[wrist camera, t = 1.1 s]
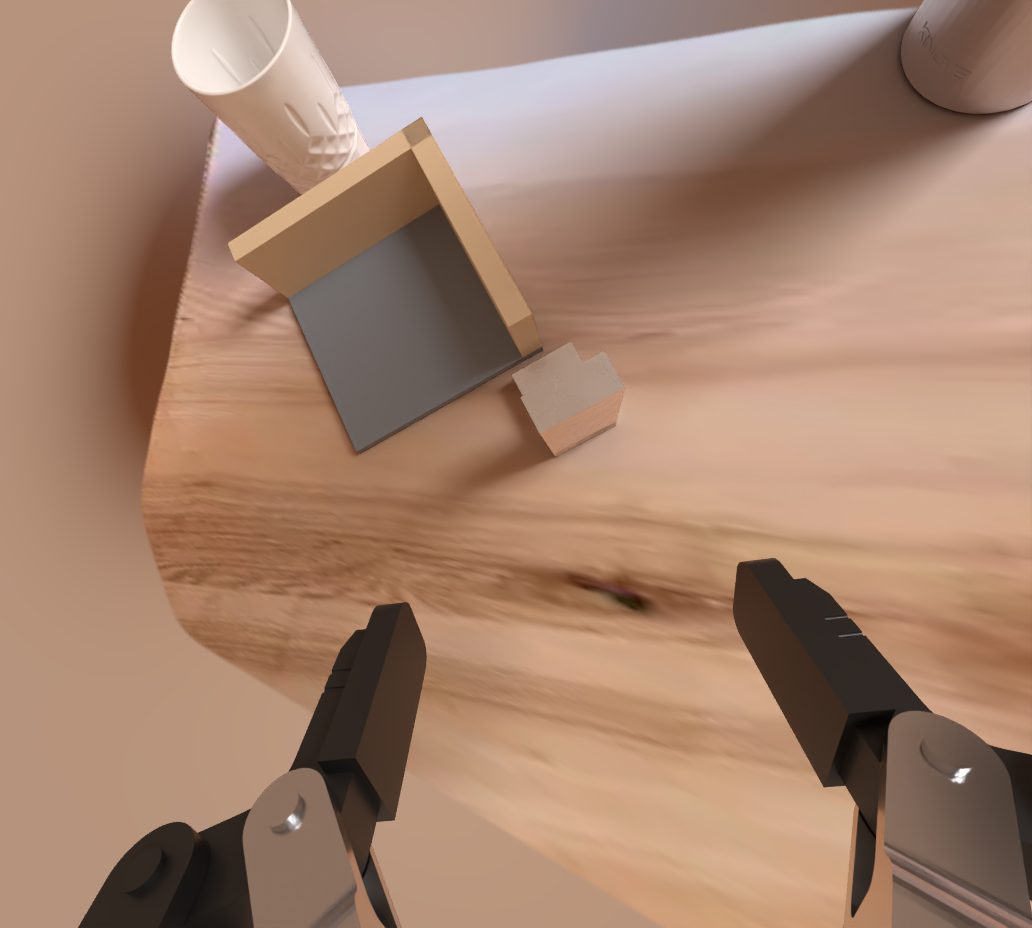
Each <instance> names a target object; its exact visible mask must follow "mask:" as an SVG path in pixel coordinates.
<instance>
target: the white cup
mask: <svg viewBox="0 0 1032 928" xmlns="http://www.w3.org/2000/svg"><path fill="white" fill-rule="evenodd" d="M171 57H172V63H173V67H174V69H175V72H176V74H177V76H178V77H179V79H180V80H181V82H182V83H183V84H184V85H185V86H186V87H187V88H188V89H189V90H190V91H191V92H193V94H195V95H196V96H197V97H198V98H199V99H200V100H201V101H202V102H203V103H204V104H205V105H206V106H207V107H208V108H209V109H210V110H211V111H212V112H213V113H214V114H215V115H216V116H217V117H218V118H219V119H220V120H221V121H222V122H223V123H224V124H225V125H226V126H227V127H228V128H229V129H230V130H231V131H232V132H233V133H234V134H235V135H237V136H238V137H239V138H240V139H241V140H242V141H243V142H244V143H245V144H246V145H247V146H248V147H249V148H250V149H251V150H252V151H253V152H254V153H255V154H256V155H257V156H258V157H259V158H260V159H261V160H262V161H263V162H265V163H266V164H267V165H268V166H269V167H270V168H271V169H272V170H273V171H274V172H275V173H276V174H278V175H279V176H280V177H282V178H284V179H285V180H286V181H287V182H288V183H289V184H290V185H291V186H292V187H293V188H294V189H295V190H296V191H297V192H298V193H299V194H300V195H303V194H304V193H306V192H307V191H309V190H310V189H312V188H313V187H315V186H316V185H318V184H319V183H321V182H322V181H324V180H326V179H327V178H329V177H330V176H332V175H333V174H335V173H336V172H338V171H339V170H341V169H342V168H344V167H345V166H347V165H349V164H350V163H352V162H353V161H355V160H356V159H358V158H359V157H361V156H362V155H364V154H365V153H367V152H368V151H370V150H369V148H368V145H367V143H366V141H365V138H364V136H363V134H362V133H361V131H360V129H359V127H358V126H357V124H356V122H355V120H354V118H353V116H352V112H351V110H350V108H349V106H348V104H347V102H346V101H345V99H344V97H343V95H342V92H341V90H340V89H339V87H338V85H337V83H336V81H335V80H334V77H333V76H332V74H331V72H330V70H329V68H328V67H327V65H326V63H325V61H324V59H323V58H322V56H321V54H320V52H319V51H318V48H317V47H316V45H315V43H314V41H313V39H312V37H311V36H310V34H309V32H308V30H307V28H306V27H305V25H304V23H303V21H302V19H301V17H300V16H299V14H298V12H297V10H296V8H295V6H294V4H293V3H292V1H291V0H191V1H190V2H189V3H188V5H187V6H186V7H185V9H184V11H183V12H182V14H181V16H180V18H179V20H178V22H177V24H176V27H175V30H174V33H173V38H172V45H171Z"/></svg>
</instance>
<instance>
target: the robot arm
mask: <svg viewBox="0 0 1032 928" xmlns="http://www.w3.org/2000/svg"><path fill="white" fill-rule="evenodd" d="M901 63H902V66H903V69H904V72H905V75H906V77H907V78H908V80H909V81H910V83H911V84H912V86H913V87H914V88H915V89H916V90H917V91H918V92H919V93H920V94H921V95H922V96H923V97H924V98H926V99H928V100H930V101H931V102H933V103H935V104H936V105H938V106H941V107H944V108H947V109H950V110H953V111H958V112H964V113H971V114H981V113H995V112H1001V111H1006V110H1010V109H1013V108H1016V107H1019V106H1022V105H1024V104H1027V103H1029V102H1031V101H1032V0H924V1H923V3H922V4H921V6H920V7H919V9H918V10H917V12H916V13H915V15H914V16H913V18H912V20H911V21H910V23H909V25H908V27H907V29H906V31H905V33H904V36H903V41H902V45H901ZM733 614H734V619H735V623H736V626H737V629H738V632H739V634H740V636H741V638H742V640H743V641H744V643H745V645H746V647H747V649H748V650H749V652H750V654H751V656H752V658H753V659H754V661H755V663H756V665H757V667H758V669H759V670H760V672H761V674H762V676H763V678H764V679H765V681H766V683H767V685H768V687H769V689H770V690H771V692H772V694H773V696H774V698H775V699H776V701H777V703H778V705H779V707H780V709H781V710H782V712H783V714H784V716H785V718H786V719H787V721H788V723H789V725H790V727H791V729H792V730H793V732H794V734H795V736H796V738H797V739H798V741H799V743H800V745H801V747H802V749H803V750H804V752H805V754H806V756H807V758H808V759H809V761H810V763H811V765H812V767H813V768H814V770H815V772H816V774H817V776H818V778H819V779H820V781H821V783H822V785H823V787H834V786H846V787H847V789H848V791H849V793H850V794H851V796H852V798H853V799H854V801H855V803H856V805H855V808H854V815H853V827H852V838H851V849H850V861H849V872H848V883H847V895H846V906H845V916H844V924H843V928H1032V912H1031V906H1030V900H1031V901H1032V755H1031V754H1026V753H1021V752H1016V751H1011V750H1006V749H1002V748H998V747H994V746H991V745H988V744H986V743H985V742H984V741H983V740H982V739H981V738H980V737H978V736H977V735H976V734H974V733H973V732H971V731H970V730H968V729H967V728H965V727H964V726H962V725H960V724H958V723H956V722H955V721H952V720H950V719H948V718H946V717H943V716H940V715H937V714H934V713H933V712H932V711H930V710H929V709H928V708H927V706H926V705H925V704H924V703H923V702H922V701H921V700H920V699H919V698H918V696H917V695H916V694H915V693H914V692H913V691H912V689H911V688H910V687H909V686H908V685H907V684H906V682H905V681H904V680H903V679H902V678H901V677H900V675H899V674H898V673H897V672H896V671H895V670H894V668H893V667H892V666H891V665H890V664H889V663H888V661H887V660H886V659H885V658H884V657H883V656H882V654H881V653H880V652H879V651H878V650H877V649H876V647H875V646H874V645H873V644H872V643H871V642H870V640H869V639H868V638H867V637H866V636H863V635H862V631H861V630H860V629H859V628H858V626H857V625H856V624H855V623H854V622H853V621H852V619H851V618H850V619H849V618H848V617H847V614H846V612H845V611H844V610H843V609H842V608H841V607H840V605H839V604H838V603H837V602H836V601H835V600H834V598H833V597H832V596H831V595H830V594H829V593H827V592H826V591H824V590H823V589H821V588H820V587H818V586H817V585H815V584H814V583H812V582H811V581H809V580H808V579H806V578H802V579H793V578H792V576H791V575H790V574H789V573H788V571H787V570H786V569H785V568H784V566H783V565H782V564H781V563H780V562H779V561H778V560H777V559H775V558H769V559H761V560H753V561H745V562H740V563H739V564H738V566H737V574H736V583H735V593H734V603H733ZM425 669H426V647H425V642H424V640H423V637H422V634H421V632H420V629H419V627H418V624H417V622H416V619H415V617H414V614H413V612H412V609H411V607H410V605H409V604H408V603H407V602H403V603H395V604H387V605H379V606H376V607H375V608H374V610H373V612H372V615H371V617H370V620H369V623H368V625H367V628H366V629H363V630H356V631H355V632H354V634H353V635H352V636H351V637H350V638H349V640H348V641H347V642H346V643H345V645H344V646H343V647H342V648H341V649H340V652H339V654H338V657H337V659H336V661H335V664H334V666H333V669H332V675H330V676H329V678H328V681H327V683H326V686H325V692H324V693H322V695H321V698H320V700H319V702H318V705H317V707H316V710H315V712H314V714H313V717H312V719H311V722H310V724H309V726H308V729H307V731H306V734H305V736H304V739H303V741H302V743H301V746H300V748H299V751H298V753H297V756H296V758H295V760H294V762H293V765H292V767H291V768H290V770H289V772H288V773H286V774H284V775H282V776H281V777H279V778H278V779H277V780H275V781H274V782H273V783H272V784H271V785H270V786H269V787H268V788H266V789H265V791H264V792H263V793H262V794H261V795H260V797H259V798H258V799H257V801H256V802H255V804H254V805H253V807H252V808H251V809H249V810H247V811H245V812H243V813H241V814H239V815H237V816H235V817H232V818H230V819H228V820H226V821H223V822H221V823H219V824H217V825H214V826H212V827H210V828H208V829H206V830H204V831H201V832H199V833H197V832H196V831H195V830H193V829H192V828H191V827H190V826H189V825H187V824H186V823H182V822H173V823H169V824H166V825H163V826H161V827H159V828H157V829H155V830H153V831H152V832H151V833H149V834H147V835H146V836H145V837H143V838H142V839H141V840H140V841H138V842H137V843H136V844H135V845H134V846H133V847H132V848H131V849H130V850H129V851H128V852H127V853H126V854H125V855H124V856H123V857H122V858H121V860H120V861H119V862H118V863H117V865H116V866H115V867H114V869H113V870H112V871H111V873H110V875H109V876H108V878H107V879H106V881H105V883H104V885H103V886H102V888H101V890H100V891H99V893H98V895H97V896H96V898H95V900H94V901H93V903H92V905H91V907H90V908H89V910H88V912H87V914H86V915H85V917H84V919H83V920H82V922H81V924H80V925H79V927H78V928H402V927H401V924H400V921H399V918H398V916H397V913H396V910H395V908H394V905H393V902H392V899H391V896H390V894H389V891H388V888H387V886H386V883H385V880H384V877H383V875H382V872H381V869H380V867H379V864H378V861H377V858H376V855H375V853H374V850H373V848H372V845H371V843H372V838H373V834H374V830H375V826H376V822H380V821H392V820H395V816H396V811H397V806H398V801H399V796H400V791H401V786H402V781H403V777H404V772H405V767H406V762H407V757H408V752H409V747H410V743H411V738H412V733H413V728H414V723H415V718H416V713H417V708H418V703H419V699H420V694H421V689H422V684H423V679H424V674H425Z"/></svg>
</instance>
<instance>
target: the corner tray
mask: <svg viewBox="0 0 1032 928" xmlns="http://www.w3.org/2000/svg"><path fill="white" fill-rule="evenodd" d="M228 246H229V248H230V250H231V253H232V255H233V258H234V260H235V262H237V263H238V264H239V265H241V266H242V267H244V268H245V269H247V270H248V271H250V272H251V273H252V274H254V275H255V276H257V277H258V278H260V279H261V280H263V281H264V282H265V283H267V284H268V285H270V286H271V287H273V288H274V289H275V290H277V291H278V292H280V293H281V294H283V295H284V296H286V297H287V298H288V299H289V301H290V304H291V306H292V308H293V310H294V313H295V315H296V317H297V319H298V322H299V324H300V326H301V328H302V331H303V333H304V335H305V337H306V340H307V342H308V344H309V346H310V349H311V351H312V353H313V356H314V358H315V360H316V362H317V365H318V367H319V369H320V371H321V374H322V376H323V378H324V380H325V383H326V385H327V387H328V389H329V392H330V394H331V396H332V398H333V401H334V403H335V405H336V407H337V410H338V412H339V414H340V416H341V419H342V421H343V423H344V426H345V428H346V430H347V432H348V435H349V437H350V439H351V441H352V444H353V446H354V448H355V450H356V452H359V453H362V452H363V451H365V450H367V449H369V448H370V447H372V446H374V445H376V444H377V443H379V442H381V441H383V440H385V439H386V438H388V437H390V436H392V435H393V434H395V433H397V432H399V431H400V430H402V429H404V428H406V427H408V426H409V425H411V424H413V423H415V422H416V421H418V420H420V419H422V418H423V417H425V416H427V415H429V414H431V413H432V412H434V411H436V410H438V409H439V408H441V407H443V406H445V405H446V404H448V403H450V402H452V401H453V400H455V399H457V398H459V397H461V396H462V395H464V394H466V393H468V392H469V391H471V390H473V389H475V388H476V387H478V386H480V385H482V384H484V383H485V382H487V381H489V380H491V379H492V378H494V377H496V376H498V375H499V374H501V373H503V372H505V371H507V370H508V369H510V368H512V367H514V366H515V365H517V364H519V363H521V362H522V361H524V360H526V359H528V358H530V357H531V356H533V355H535V354H537V353H538V352H540V351H542V350H543V348H542V344H541V341H540V338H539V335H538V331H537V328H536V325H535V322H534V319H533V315H532V313H531V311H530V309H529V307H528V306H527V304H526V302H525V300H524V298H523V297H522V295H521V293H520V291H519V290H518V288H517V286H516V284H515V282H514V281H513V279H512V277H511V275H510V273H509V272H508V270H507V268H506V266H505V265H504V263H503V261H502V259H501V257H500V256H499V254H498V252H497V250H496V248H495V247H494V245H493V243H492V241H491V239H490V238H489V236H488V234H487V232H486V231H485V229H484V227H483V225H482V223H481V222H480V220H479V218H478V216H477V214H476V213H475V211H474V209H473V207H472V206H471V204H470V202H469V200H468V198H467V197H466V195H465V193H464V191H463V189H462V188H461V186H460V184H459V182H458V181H457V179H456V177H455V175H454V173H453V172H452V170H451V168H450V166H449V164H448V163H447V161H446V159H445V157H444V156H443V154H442V152H441V150H440V148H439V147H438V145H437V143H436V141H435V139H434V138H433V136H432V134H431V132H430V130H429V129H428V127H427V125H426V123H425V122H424V120H423V118H422V117H421V118H419V119H418V120H416V121H414V122H413V123H411V124H410V125H408V126H407V127H405V128H404V129H402V130H401V131H399V132H398V133H396V134H395V135H393V136H391V137H390V138H388V139H387V140H385V141H384V142H382V143H381V144H379V145H378V146H376V147H375V148H373V149H372V150H370V151H368V152H367V153H365V154H364V155H362V156H361V157H359V158H358V159H356V160H355V161H353V162H352V163H350V164H349V165H347V166H345V167H344V168H342V169H341V170H339V171H338V172H336V173H335V174H333V175H332V176H330V177H329V178H327V179H326V180H324V181H322V182H321V183H319V184H318V185H316V186H315V187H313V188H312V189H310V190H309V191H307V192H306V193H304V194H303V195H301V196H299V197H298V198H296V199H295V200H293V201H292V202H290V203H289V204H287V205H286V206H284V207H283V208H281V209H280V210H278V211H276V212H275V213H273V214H272V215H270V216H269V217H267V218H266V219H264V220H263V221H261V222H260V223H258V224H257V225H255V226H253V227H252V228H250V229H249V230H247V231H246V232H244V233H243V234H241V235H240V236H238V237H237V238H235V239H234V240H232V241H230V242H229V243H228Z"/></svg>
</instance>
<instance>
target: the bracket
mask: <svg viewBox="0 0 1032 928" xmlns="http://www.w3.org/2000/svg"><path fill="white" fill-rule="evenodd" d="M512 377H513V379H514V380H515V382H516V384H517V386H518V388H519V390H520V392H521V394H522V395H523V396H522V397H520V398H521V400H522V402H523V404H524V405H525V407H526V409H527V411H528V413H529V415H530V417H531V419H532V420H533V422H534V424H535V426H536V428H537V430H538V432H539V434H540V435H541V437H542V438H543V439H544V441H545V442H546V444H547V445H548V447H549V448H550V449H551V451H552V452H553V454H554V455H555V457H557V456H559V455H561V454H563V453H565V452H567V451H568V450H570V449H572V448H574V447H576V446H578V445H580V444H582V443H583V442H585V441H587V440H589V439H591V438H593V437H595V436H597V435H598V434H600V433H602V432H604V431H606V430H608V429H610V428H612V427H613V426H615V424H616V421H617V417H618V413H619V409H620V406H621V402H622V398H623V394H624V391H625V386H624V384H623V383H622V381H621V379H620V377H619V376H618V374H617V372H616V371H615V369H614V367H613V365H612V364H611V362H610V360H609V359H608V357H607V355H606V354H605V352H604V351H603V352H601V353H599V354H597V355H595V356H594V357H592V358H590V359H588V360H586V361H585V362H582V360H581V358H580V356H579V354H578V353H577V351H576V349H575V347H574V346H573V344H572V342H569V343H567V344H565V345H564V346H562V347H560V348H558V349H556V350H555V351H553V352H551V353H549V354H548V355H546V356H544V357H542V358H540V359H539V360H537V361H535V362H533V363H532V364H530V365H528V366H526V367H524V368H523V369H521V370H519V371H517V372H516V373H514V374H512Z"/></svg>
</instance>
